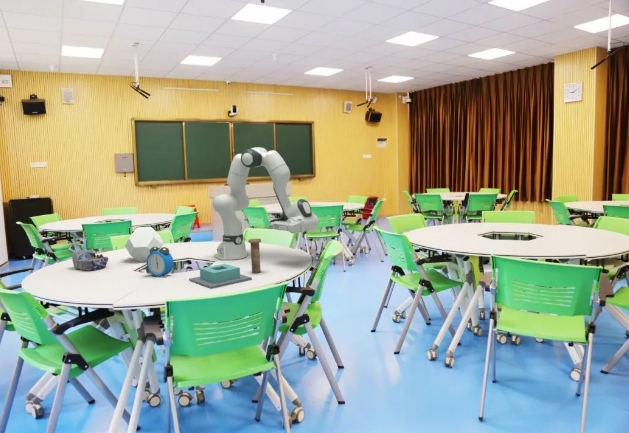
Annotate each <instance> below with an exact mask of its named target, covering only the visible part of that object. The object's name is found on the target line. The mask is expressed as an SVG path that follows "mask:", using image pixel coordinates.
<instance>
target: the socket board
mask: <svg viewBox="0 0 629 433" xmlns="http://www.w3.org/2000/svg"><path fill="white" fill-rule="evenodd" d="M251 280H253V278H252V277H250V276H247V275H245V274H241V268H240V267H239V266H236V265H231V264H227V263H220V264H217V265H210V266H206V267H200V268H199V276H197V277H196V276H195V277H192V278H189V279H188V281H189V282H192V283H194V284H197V285H200V286H202V287H205V288H207V289H210V290H212V289H217V288H221V287H225V286H229V285H230V286H231V285H234V284H238V283H243V282H248V281H251Z"/></svg>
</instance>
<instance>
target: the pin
mask: <svg viewBox="0 0 629 433" xmlns="http://www.w3.org/2000/svg"><path fill="white" fill-rule="evenodd" d="M261 242H262V239H261V238H250V239H248V243H249V244H250V256H251V257H250V258H251V274H260V273H261V271H262V270H261V254H260V243H261Z"/></svg>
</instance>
